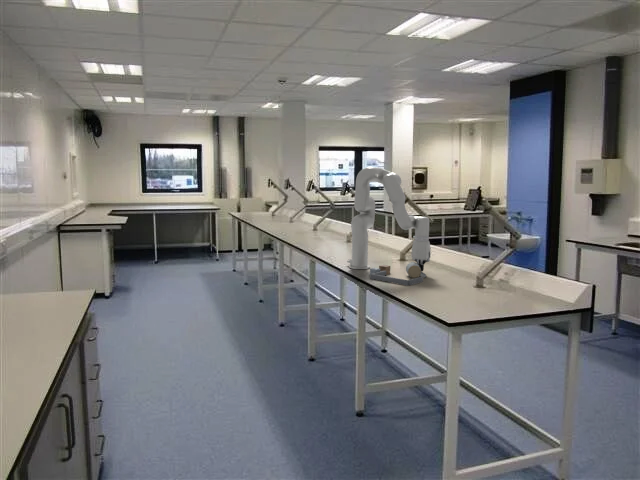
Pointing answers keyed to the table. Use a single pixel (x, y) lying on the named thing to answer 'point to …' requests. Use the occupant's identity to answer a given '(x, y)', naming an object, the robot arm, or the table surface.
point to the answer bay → (395, 280)
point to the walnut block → (385, 268)
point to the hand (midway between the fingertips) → (420, 271)
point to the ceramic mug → (414, 270)
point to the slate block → (374, 270)
